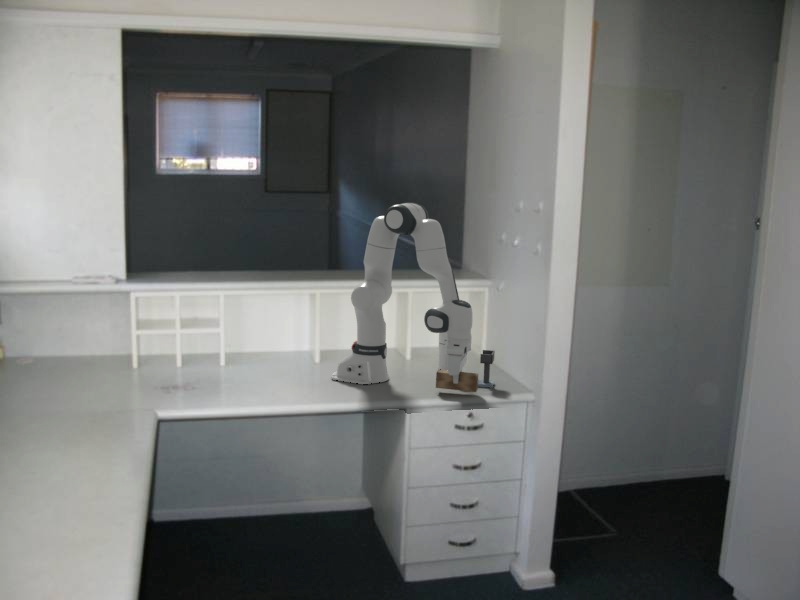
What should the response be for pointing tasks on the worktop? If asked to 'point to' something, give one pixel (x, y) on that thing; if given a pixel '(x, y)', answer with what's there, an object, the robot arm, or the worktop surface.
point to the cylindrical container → (442, 352)
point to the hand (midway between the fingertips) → (456, 381)
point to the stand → (486, 368)
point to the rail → (465, 382)
